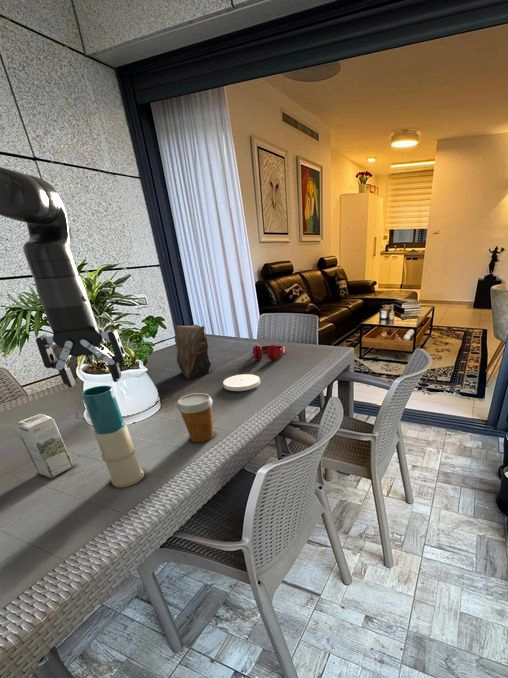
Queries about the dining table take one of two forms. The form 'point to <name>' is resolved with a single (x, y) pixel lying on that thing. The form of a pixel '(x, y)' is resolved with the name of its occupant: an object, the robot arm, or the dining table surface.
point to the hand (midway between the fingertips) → (94, 383)
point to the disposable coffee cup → (197, 416)
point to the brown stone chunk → (192, 351)
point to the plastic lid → (241, 382)
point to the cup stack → (120, 457)
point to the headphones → (268, 351)
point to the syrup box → (44, 445)
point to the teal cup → (103, 409)
